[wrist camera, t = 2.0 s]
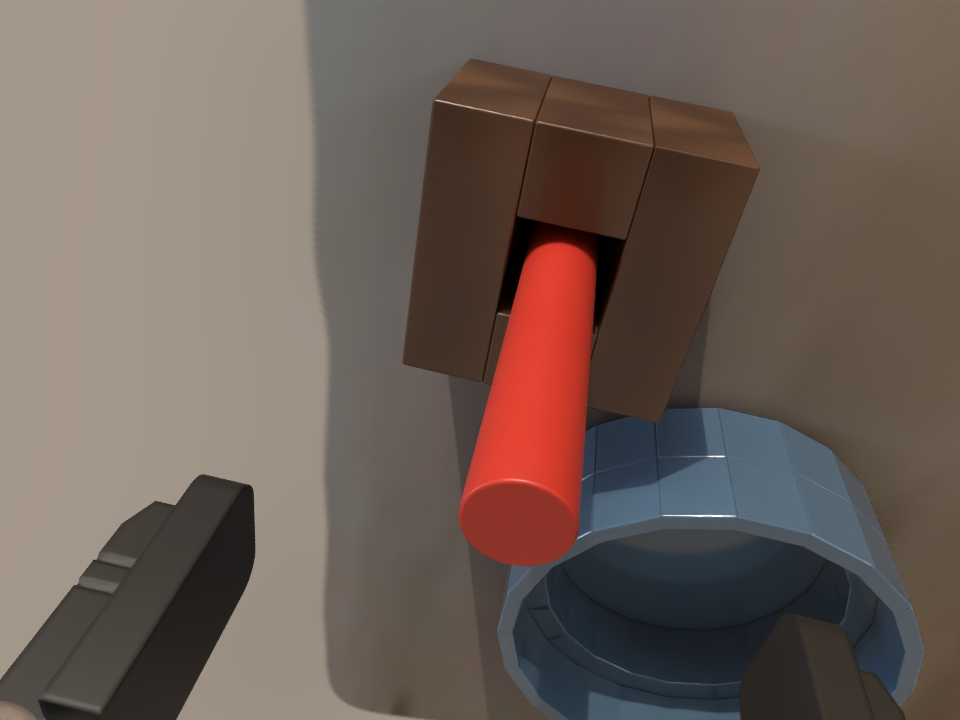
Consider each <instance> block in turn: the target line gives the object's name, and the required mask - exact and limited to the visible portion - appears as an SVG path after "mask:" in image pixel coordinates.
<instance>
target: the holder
mask: <svg viewBox="0 0 960 720" xmlns="http://www.w3.org/2000/svg"><path fill="white" fill-rule="evenodd" d="M759 170H760V167H759V165H758V163H757V161H756V159H755V157H754V155H753V153H752V151H751V149H750V147H749V145H748V143H747V141H746V139H745V137H744V135H743V132H742V130H741V128H740V126H739V124H738V122H737V120H736V118H735V116H734V114H733V113H731V112H726V111H721V110H717V109H712V108H707V107H702V106H697V105H693V104H688V103H683V102H678V101H673V100H668V99H664V98H659V97H654V96H649V98H648V96H647V95H643V94H638V93H634V92H629V91H624V90H619V89H614V88H609V87H605V86H600V85H595V84H590V83H585V82H581V81H576V80H571V79H566V78H561V77H556V76H553V77H552V78H551V76H550V75H547V74H542V73H538V72H533V71H528V70H523V69H518V68H513V67H509V66H504V65H499V64H494V63H489V62H485V61H480V60H475V59H470V60H469V61H468V62H467V63H466V64H465V65H464V66H463V68H462V69H461V70H460V71H459V72H458V73H457V74H456V75H455V76H454V78H453V79H452V80H451V81H450V82H449V83H448V84H447V85H446V86H445V88H444V89H443V90H442V91H441V92H440V93H439V94H438V95H437V97H436V98H435V99H434V100H433V105H432V114H431V122H430V131H429V139H428V148H427V156H426V165H425V173H424V182H423V190H422V199H421V207H420V216H419V224H418V233H417V242H416V250H415V259H414V267H413V276H412V284H411V293H410V301H409V310H408V318H407V327H406V335H405V344H404V352H403V361H402V362H403V364H404V365H408V366H413V367H417V368H421V369H426V370H430V371H434V372H439V373H443V374H447V375H452V376H456V377H460V378H465V379H469V380H474V381H478V382H482V381H483V382H484V383H486V384H491V385H492V382H493V378H494V374H495V370H496V367H497V363H498V359H499V355H500V352H501V348H502V344H503V340H504V336H505V333H506V329H507V325H508V321H509V318H510V314H511V310H512V306H513V303H514V299H515V295H516V291H517V287H518V284H519V280H520V276H521V272H522V269H523V265H524V261H525V257H526V253H527V250H528V246H529V244H528V243H523V242H518V238H519V233H520V228H521V223H522V218H526V219H531V220H535V221H540V222H544V223H549V224H554V225H558V226H563V227H567V228H572V229H577V230H581V231H586V232H590V233H595V234H599V235H604V236H609V238H608V242H607V245H606V249H605V252H604V256H603V259H602V260H600V259H598V261H597V275H596V289H595V304H594V318H593V333H592V347H591V362H590V376H589V390H588V405H587V407H590V408H594V409H598V410H603V411H607V412H611V413H616V414H620V415H624V416H629V417H633V418H637V419H642V420H646V421H650V422H655V423H660V421H661V419H662V416H663V414H664V411H665V408H666V406H667V403H668V401H669V398H670V396H671V393H672V391H673V388H674V386H675V383H676V381H677V378H678V376H679V373H680V370H681V368H682V365H683V363H684V360H685V358H686V355H687V353H688V350H689V348H690V345H691V343H692V340H693V338H694V335H695V332H696V330H697V327H698V325H699V322H700V320H701V317H702V315H703V312H704V310H705V307H706V305H707V302H708V300H709V297H710V294H711V292H712V289H713V287H714V284H715V282H716V279H717V277H718V274H719V272H720V269H721V267H722V264H723V261H724V259H725V256H726V254H727V251H728V249H729V246H730V244H731V241H732V239H733V236H734V234H735V231H736V229H737V226H738V223H739V221H740V218H741V216H742V213H743V211H744V208H745V206H746V203H747V201H748V198H749V196H750V193H751V191H752V188H753V185H754V183H755V180H756V178H757V175H758V173H759Z"/></svg>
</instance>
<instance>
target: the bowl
mask: <svg viewBox="0 0 960 720" xmlns="http://www.w3.org/2000/svg"><path fill="white" fill-rule="evenodd" d="M786 613H789V614H794V615H798V616H802V617H807V618H811V619H815V620H819V621H824V622H828V623H832V624H836V625H840V626H841V627H843V628H844V629H845V631H846V632H847V634H848V636H849V638H850V641H851V644H852V647H853V651H854V654H855V657H856V660H857V663H858V667H859V670H863V671H868V672H872V673H876V674H877V676H878V677H879V678H880V680H881V681H882V683H883V684H884V686H885V687H886V688H887V690H888V691H889V693H890V694H891V696H892V697H893V698H894V700H895V701H896V703H897V704H898V706H899V707H901V706H902V705H903V704H904V703H905V702H906V701H907V700H908V698H909V697H910V696H911V695H912V694H913V692H914V689H915V686H916V682H917V679H918V675H919V671H920V668H921V664H922V661H923V657H924V654H925V648H924V644H923V641H922V637H921V634H920V630H919V627H918V624H917V620H916V617H915V613H914V610H913V607H912V604H911V602H910V599H909V597H908V594H907V592H906V589H905V587H904V584H903V582H902V579H901V577H900V574H899V572H898V569H897V567H896V564H895V562H894V560H893V557H892V555H891V552H890V550H889V547H888V545H887V543H886V540H885V537H884V535H883V532H882V530H881V527H880V525H879V522H878V520H877V517H876V515H875V512H874V510H873V507H872V505H871V502H870V500H869V497H868V495H867V493H866V490H865V488H864V486H863V485H862V484H861V483H860V482H859V481H858V480H857V478H856V477H855V476H854V475H853V474H852V473H851V472H850V471H849V469H848V468H847V467H846V466H845V465H844V464H843V463H842V462H841V460H840V459H839V458H838V457H837V456H836V455H835V454H834V453H833V451H831V450H830V449H829V448H827V447H826V446H824V445H822V444H820V443H818V442H817V441H815V440H813V439H811V438H809V437H807V436H806V435H804V434H802V433H800V432H798V431H796V430H795V429H793V428H791V427H789V426H787V425H785V424H784V423H782V422H779V421H775V420H771V419H767V418H762V417H758V416H753V415H749V414H745V413H740V412H736V411H731V410H727V409H723V408H678V409H665V411H664V414H663V416H662V419H661V421H660V423H655V422H650V421H646V420H642V419H637V418H633V417H629V416H628V417H624V418H621V419H617V420H614V421H610V422H606V423H603V424H599V425H598V426H597V425H596V426H594V427H592V428H591V429H589V430H588V431H586V434H585V448H584V463H583V477H582V491H581V506H580V520H579V533H578V537H577V539H576V541H575V543H574V545H573V546H572V548H571V549H570V550H569V551H568V552H567V553H566V554H565V555H564V556H562V557H561V558H559V559H557V560H556V561H553V562H551V563H548V564H544V565H539V566H530V567H523V566H513V565H508V567H507V573H506V579H505V584H504V590H503V596H502V602H501V608H500V614H499V620H498V625H497V635H498V640H499V644H500V649H501V653H502V658H503V662H504V667H505V669H506V671H507V672H508V674H509V675H510V677H511V678H512V679H513V681H514V682H515V684H516V685H517V686H518V688H519V689H520V691H521V692H522V693H523V695H524V696H525V698H526V699H527V700H528V702H530V704H532V705H533V706H534V707H536V708H537V709H538V710H540V711H541V712H542V713H543V714H545V715H546V716H547V717H549V718H550V719H551V720H741V718H740V708H739V698H740V689H741V683H742V679H743V676H744V673H745V671H746V669H747V667H748V666H749V664H750V663H751V661H752V660H753V658H754V657H755V655H756V654H757V652H758V650H759V649H760V647H761V646H762V644H763V643H764V641H765V640H766V638H767V637H768V635H769V634H770V632H771V630H772V629H773V627H774V626H775V624H776V623H777V621H778V620H779V618H780V617H781V616H782V615H784V614H786Z"/></svg>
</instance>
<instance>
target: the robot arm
mask: <svg viewBox="0 0 960 720" xmlns="http://www.w3.org/2000/svg"><path fill="white" fill-rule="evenodd" d="M254 558H255V522H254V493H253V488H252V487H251V486H250V485H247V484H243V483H238V482H234V481H230V480H226V479H221V478H217V477H213V476H209V475H204V474H203V475H199V476H198V477H197V478H196V479H195V480H194V481H193V482H192V483H191V485H190V486H189V487H188V489H187V490H186V492H185V493H184V494H183V496H182V497H181V499H180V500H179V501H178V503H177V504H176V505H171V504H166V503H162V502H158V501H155V502H153V503H152V504H151V505H149V506H147V507H146V508H144V509H143V510H141V511H140V512H138V513H137V514H136V515H134V516H133V517H131V518H130V519H128V520H127V521H125V522H124V523H123V524H121V526H120V527H119V528H118V529H117V531H116V532H115V533H114V535H113V536H112V537H111V538H110V540H109V541H108V542H107V544H106V545H105V546H104V547H103V549H102V550H101V551H100V552H99V556H98V558H97V560H93V561H92V563H91V564H90V565H89V567H88V568H87V569H86V570H85V572H84V573H83V574H82V576H81V577H80V578H79V583H78V584H77V585H74V586H73V587H72V588H71V590H70V591H69V592H68V594H67V595H66V596H65V597H64V599H63V600H62V601H61V603H60V604H59V605H58V607H57V608H56V609H55V610H54V612H53V613H52V614H51V615H50V617H49V618H48V619H47V621H46V622H45V623H44V624H43V626H42V627H41V628H40V630H39V631H38V632H37V633H36V635H35V636H34V637H33V638H32V640H31V641H30V642H29V644H28V645H27V646H26V647H25V649H24V650H23V651H22V653H21V654H20V655H19V656H18V658H17V659H16V660H15V662H14V663H13V664H12V665H11V667H10V668H9V669H8V671H7V672H6V673H5V674H4V676H3V677H2V678H1V680H0V720H176V719H177V717H178V715H179V713H180V711H181V710H182V708H183V706H184V704H185V702H186V700H187V698H188V696H189V694H190V692H191V691H192V689H193V687H194V685H195V683H196V681H197V679H198V677H199V675H200V673H201V672H202V670H203V668H204V666H205V664H206V662H207V660H208V658H209V657H210V655H211V653H212V651H213V649H214V647H215V645H216V643H217V642H218V640H219V638H220V636H221V634H222V632H223V630H224V628H225V626H226V625H227V623H228V621H229V619H230V617H231V615H232V613H233V611H234V609H235V608H236V606H237V604H238V602H239V600H240V598H241V596H242V594H243V592H244V590H245V588H246V586H247V583H248V581H249V578H250V575H251V572H252V568H253V564H254ZM739 708H740V718H741V720H906V719H905V716H904V713H903V711H902V710H901V708H900V707H899V706H898V704H897V703H896V701H895V700H894V698H893V697H892V696H891V694H890V693H889V691H888V690H887V688H886V687H885V686H884V684H883V683H882V681H881V680H880V678H879V677H878V676H877V674H876V673H872V672H868V671H863V670H859V667H858V663H857V660H856V657H855V654H854V651H853V647H852V644H851V641H850V638H849V636H848V634H847V632H846V631H845V629H844V628H843V627H841V626H840V625H836V624H832V623H828V622H824V621H819V620H815V619H811V618H807V617H802V616H798V615H794V614H789V613H786V614H784V615H782V616H781V617H780V618H779V620H778V621H777V623H776V624H775V626H774V627H773V629H772V630H771V632H770V634H769V635H768V637H767V638H766V640H765V641H764V643H763V644H762V646H761V647H760V649H759V650H758V652H757V654H756V655H755V657H754V658H753V660H752V661H751V663H750V664H749V666H748V667H747V669H746V671H745V673H744V676H743V679H742V683H741V689H740V698H739Z"/></svg>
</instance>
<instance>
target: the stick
mask: <svg viewBox="0 0 960 720" xmlns="http://www.w3.org/2000/svg"><path fill="white" fill-rule="evenodd" d="M598 246H599V234H595V233H590V232H586V231H581V230H577V229H572V228H567V227H563V226H558V225H554V224H549V223H544V222H540V221H535V223H534V227H533V231H532V235H531V238H530V242H529V246H528V250H527V253H526V257H525V261H524V265H523V269H522V272H521V276H520V280H519V284H518V287H517V291H516V295H515V299H514V303H513V306H512V310H511V314H510V318H509V321H508V325H507V329H506V333H505V336H504V340H503V344H502V348H501V352H500V355H499V359H498V363H497V367H496V370H495V374H494V378H493V382H492V385H491V389H490V393H489V397H488V401H487V404H486V408H485V412H484V416H483V419H482V423H481V427H480V431H479V435H478V438H477V442H476V446H475V450H474V453H473V457H472V461H471V465H470V468H469V472H468V476H467V480H466V484H465V487H464V491H463V495H462V499H461V502H460V506H459V511H458V520H459V524H460V528H461V530H462V533H463V535H464V536H465V538H466V539H467V541H468V542H469V543H470V544H471V545H472V546H473V547H474V548H475V549H476V550H478V551H479V552H480V553H482V554H483V555H485V556H487V557H489V558H491V559H493V560H495V561H498V562H501V563H504V564H508V565H513V566H523V567H530V566H539V565H544V564H548V563H551V562H553V561H556V560H557V559H559V558H561V557H562V556H564V555H565V554H566V553H567V552H568V551H569V550H570V549H571V548H572V546H573V545H574V543H575V541H576V539H577V537H578V533H579V520H580V506H581V491H582V477H583V463H584V448H585V434H586V419H587V405H588V390H589V376H590V362H591V347H592V333H593V318H594V304H595V289H596V275H597V261H598Z"/></svg>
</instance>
